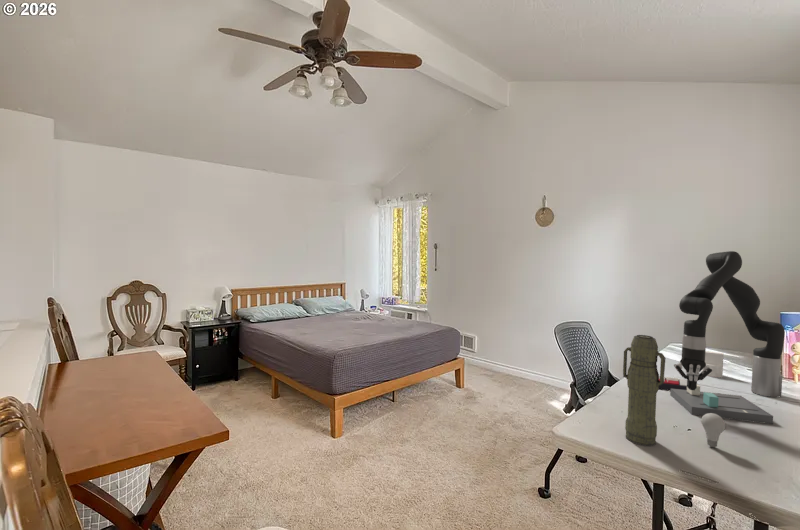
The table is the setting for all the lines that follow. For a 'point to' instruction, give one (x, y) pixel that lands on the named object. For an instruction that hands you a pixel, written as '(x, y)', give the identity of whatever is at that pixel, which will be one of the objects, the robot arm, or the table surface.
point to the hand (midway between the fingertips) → (691, 389)
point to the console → (722, 406)
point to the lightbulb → (712, 428)
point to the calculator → (673, 384)
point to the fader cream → (694, 391)
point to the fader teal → (710, 399)
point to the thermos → (643, 389)
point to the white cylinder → (714, 363)
